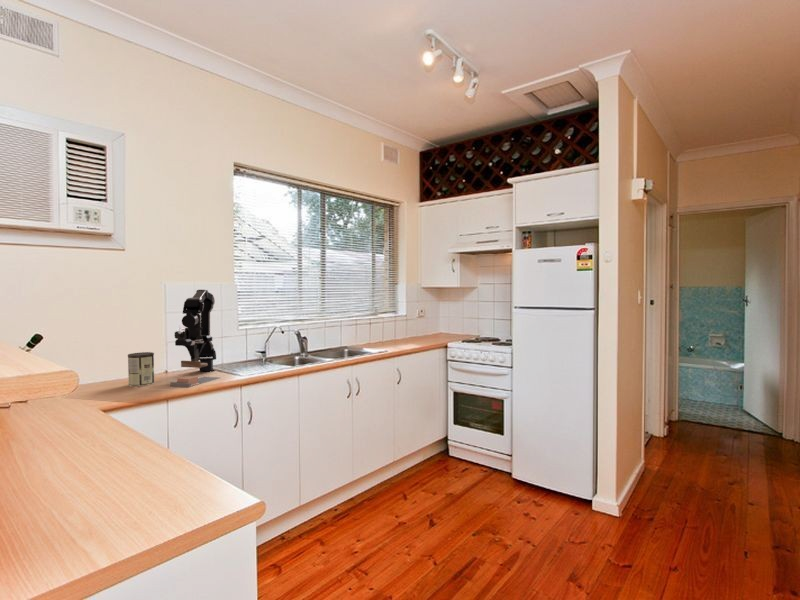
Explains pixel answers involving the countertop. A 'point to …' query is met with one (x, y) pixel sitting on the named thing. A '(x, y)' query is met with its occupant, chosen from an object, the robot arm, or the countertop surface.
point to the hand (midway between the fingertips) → (194, 358)
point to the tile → (188, 379)
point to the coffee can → (141, 369)
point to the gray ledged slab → (200, 381)
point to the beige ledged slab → (194, 362)
